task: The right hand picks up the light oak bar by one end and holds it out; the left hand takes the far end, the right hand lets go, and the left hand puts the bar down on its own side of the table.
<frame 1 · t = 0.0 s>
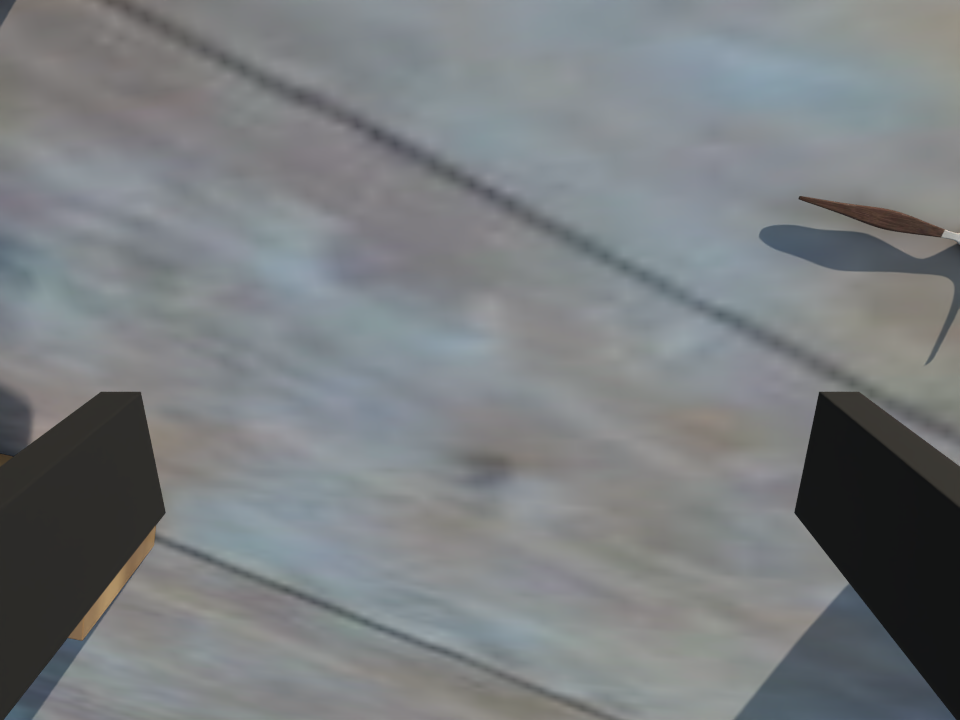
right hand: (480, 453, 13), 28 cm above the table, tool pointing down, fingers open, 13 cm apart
fork: (917, 226, 39), on the table
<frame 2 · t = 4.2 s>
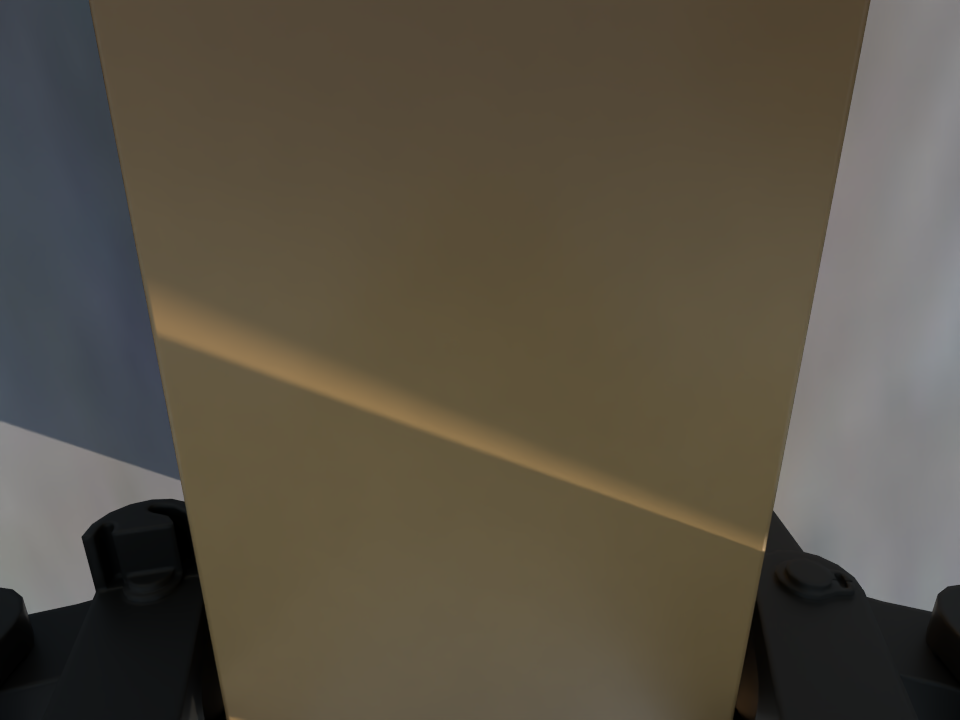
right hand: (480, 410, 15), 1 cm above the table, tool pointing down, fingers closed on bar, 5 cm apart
bar: (479, 22, 12), on the table, touching right hand
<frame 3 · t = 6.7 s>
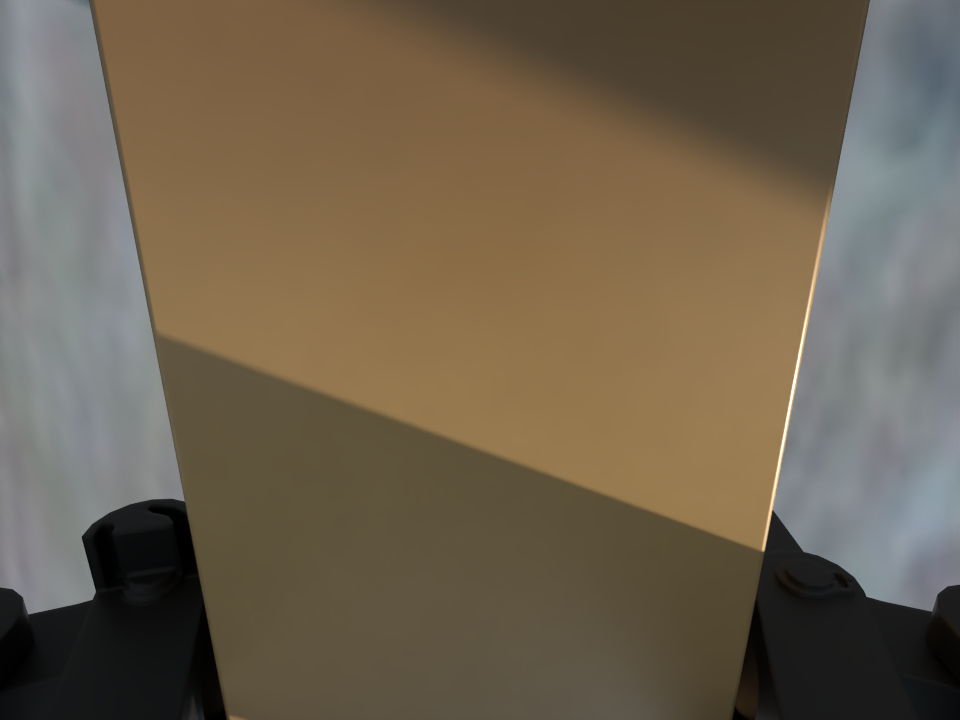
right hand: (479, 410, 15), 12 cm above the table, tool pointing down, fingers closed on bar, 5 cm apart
bar: (479, 21, 12), point 11 cm above the table, touching right hand
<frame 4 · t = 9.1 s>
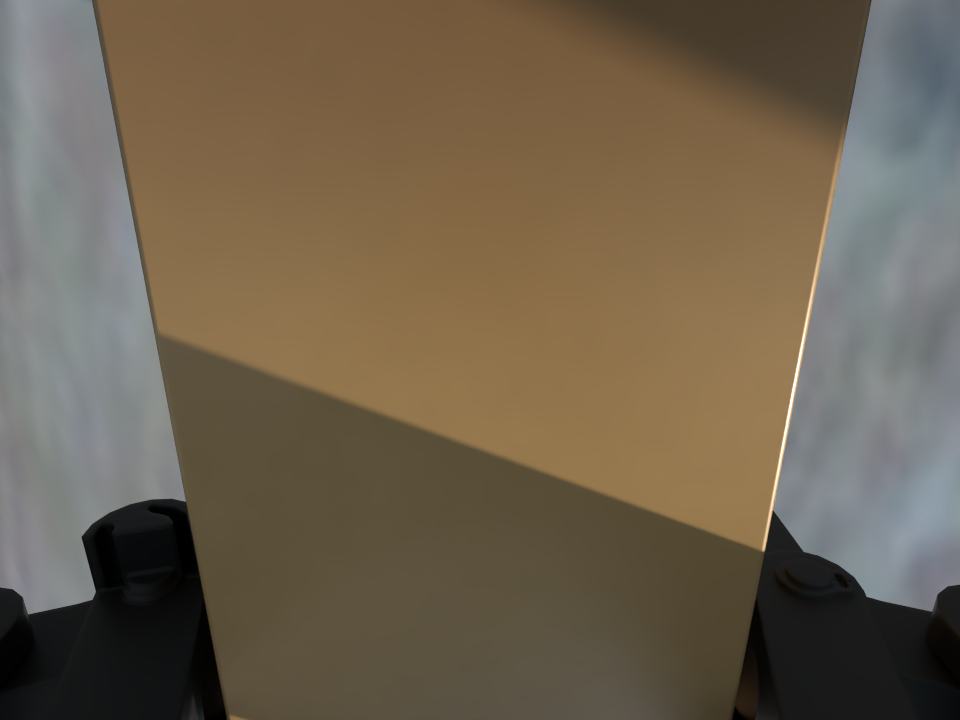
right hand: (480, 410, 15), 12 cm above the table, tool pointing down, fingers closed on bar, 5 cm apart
bar: (480, 21, 12), point 11 cm above the table, touching right hand, left hand
when the right hand's fingers open (12 cm above the table, at t = 9.6 s): bar stays where it is, held by the left hand.
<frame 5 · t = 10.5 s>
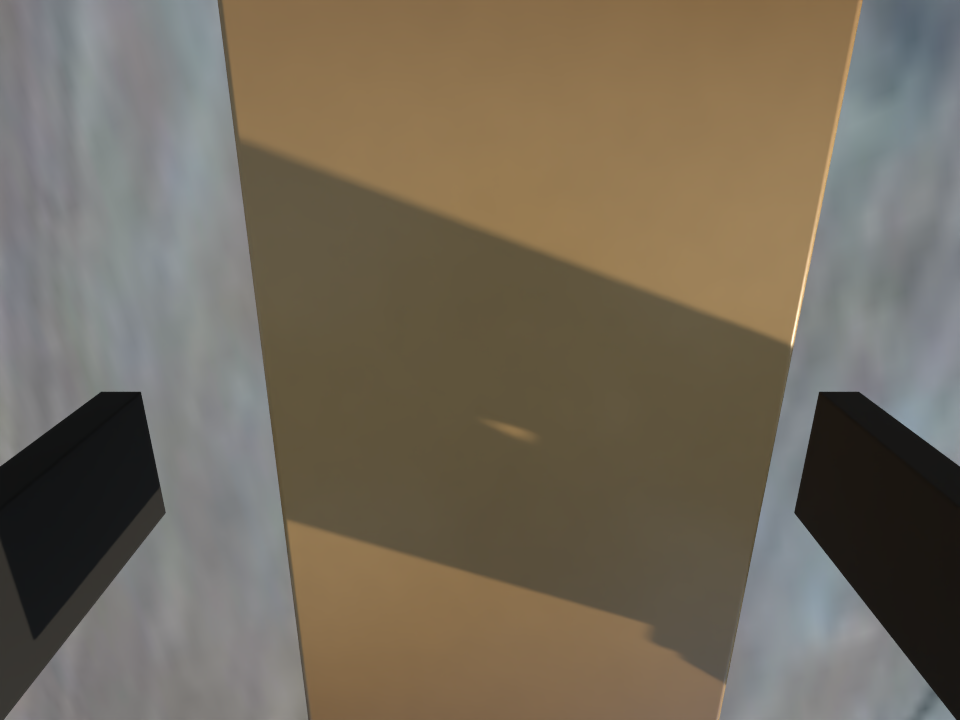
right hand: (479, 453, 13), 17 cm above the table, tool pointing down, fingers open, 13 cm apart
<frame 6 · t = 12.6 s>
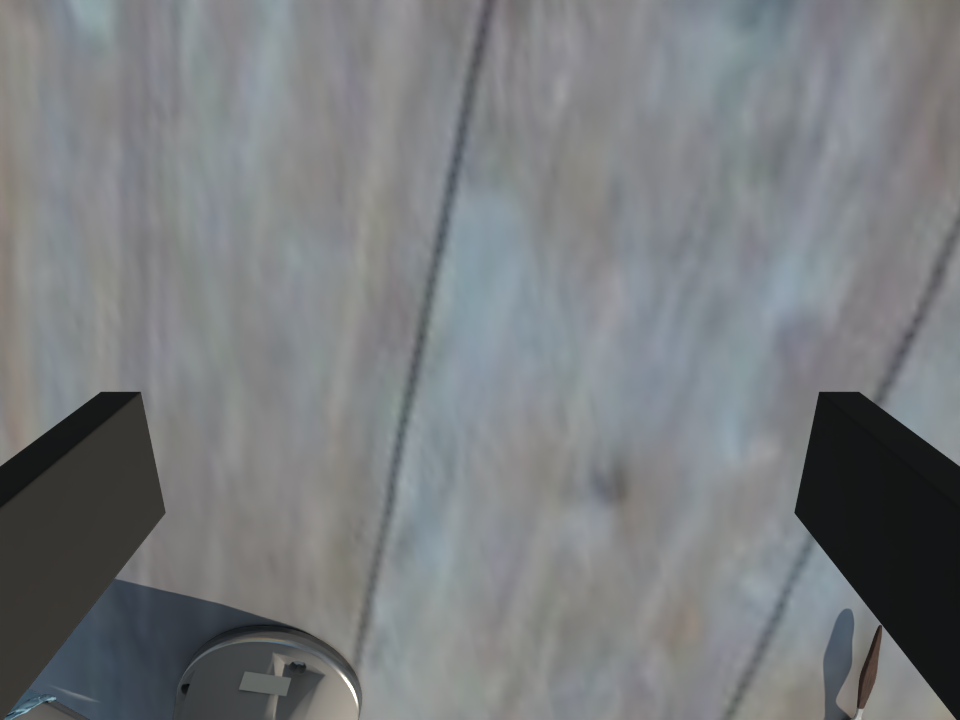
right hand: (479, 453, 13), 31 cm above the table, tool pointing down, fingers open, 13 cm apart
fork: (858, 691, 56), on the table
when the left hand's fingers open (2 cm above the table, at t = 16.3 s): bar drops 2 cm, on the table.
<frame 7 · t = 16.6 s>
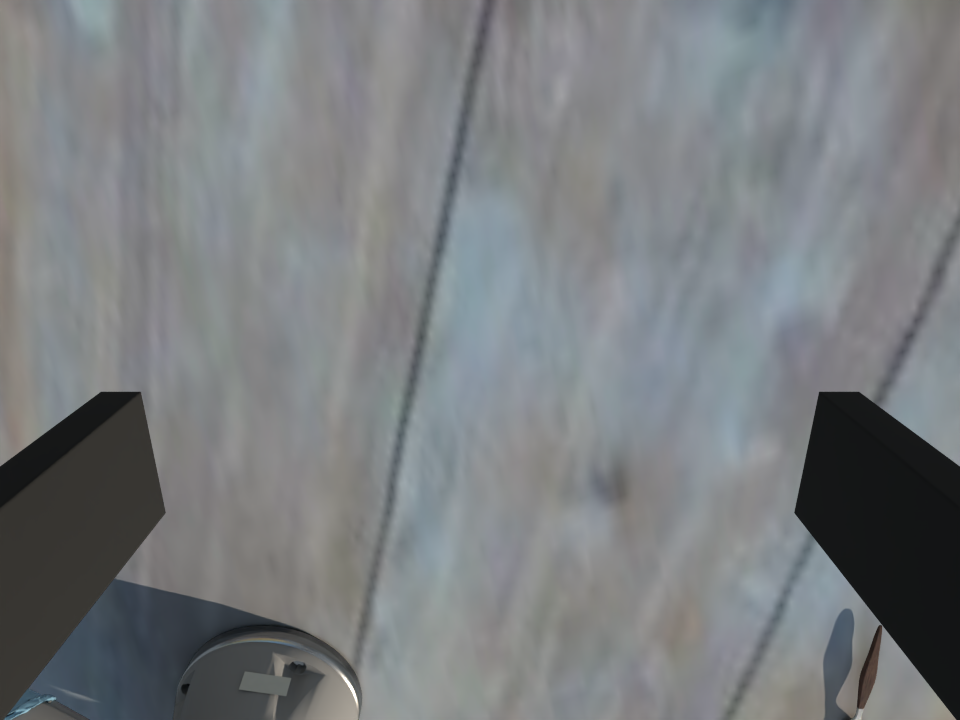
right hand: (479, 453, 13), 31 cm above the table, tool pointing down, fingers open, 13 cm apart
fork: (858, 691, 56), on the table
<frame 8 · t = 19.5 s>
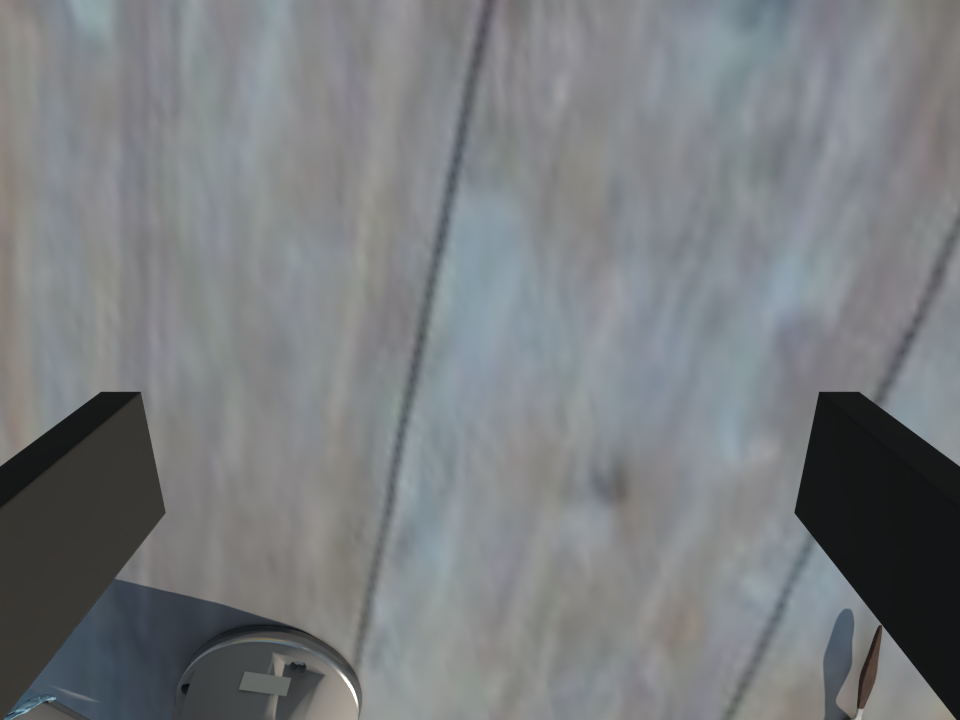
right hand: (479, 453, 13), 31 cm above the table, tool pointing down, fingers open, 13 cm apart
fork: (858, 691, 56), on the table
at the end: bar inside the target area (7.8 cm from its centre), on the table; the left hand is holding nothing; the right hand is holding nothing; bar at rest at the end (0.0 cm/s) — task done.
